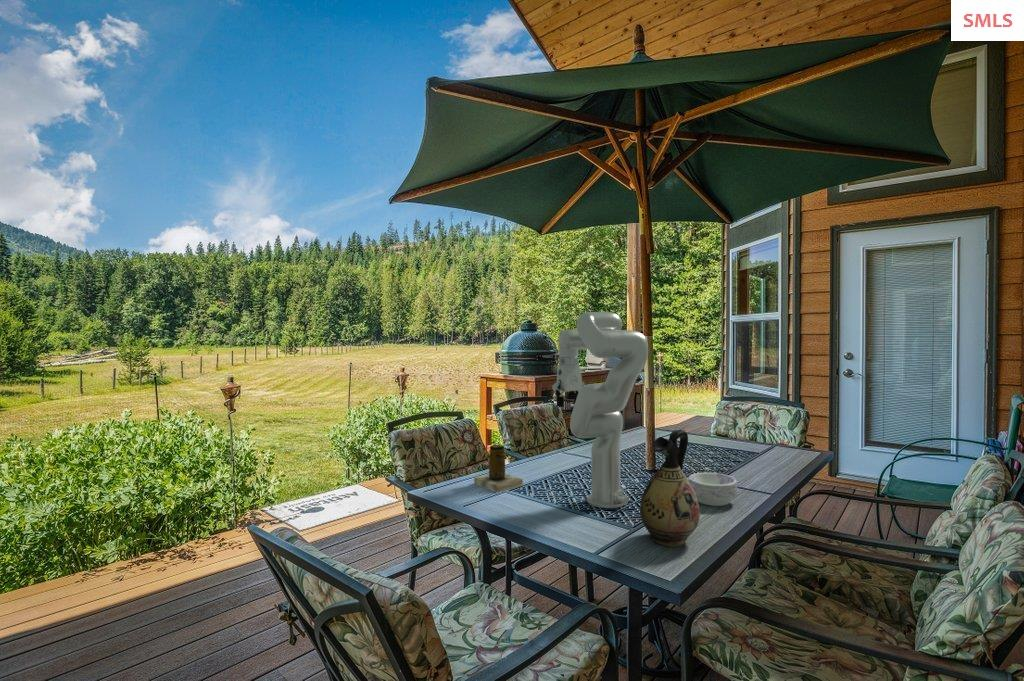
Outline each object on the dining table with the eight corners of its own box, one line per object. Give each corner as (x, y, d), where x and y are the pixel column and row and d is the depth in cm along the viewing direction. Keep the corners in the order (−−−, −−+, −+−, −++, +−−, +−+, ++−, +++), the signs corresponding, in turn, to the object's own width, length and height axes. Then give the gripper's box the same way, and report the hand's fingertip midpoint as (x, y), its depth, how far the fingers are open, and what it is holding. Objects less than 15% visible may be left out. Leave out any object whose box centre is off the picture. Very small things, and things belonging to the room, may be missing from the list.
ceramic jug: (676, 558, 125) (675, 438, 124) (628, 537, 137) (627, 429, 137) (715, 541, 134) (714, 430, 134) (667, 523, 147) (666, 422, 147)
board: (522, 485, 185) (522, 479, 185) (497, 492, 177) (497, 485, 177) (499, 477, 196) (499, 471, 195) (474, 483, 188) (474, 477, 188)
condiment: (498, 474, 192) (498, 443, 192) (513, 479, 185) (512, 446, 185) (483, 477, 187) (483, 446, 187) (497, 482, 180) (497, 450, 180)
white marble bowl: (678, 497, 170) (678, 474, 170) (713, 492, 175) (713, 469, 175) (711, 512, 156) (710, 487, 156) (748, 506, 161) (748, 481, 161)
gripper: (559, 363, 186) (560, 408, 186) (590, 361, 197) (591, 404, 197) (546, 362, 192) (546, 406, 192) (576, 360, 203) (577, 402, 203)
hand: (569, 405), depth 195 cm, fingers open, 9 cm apart
